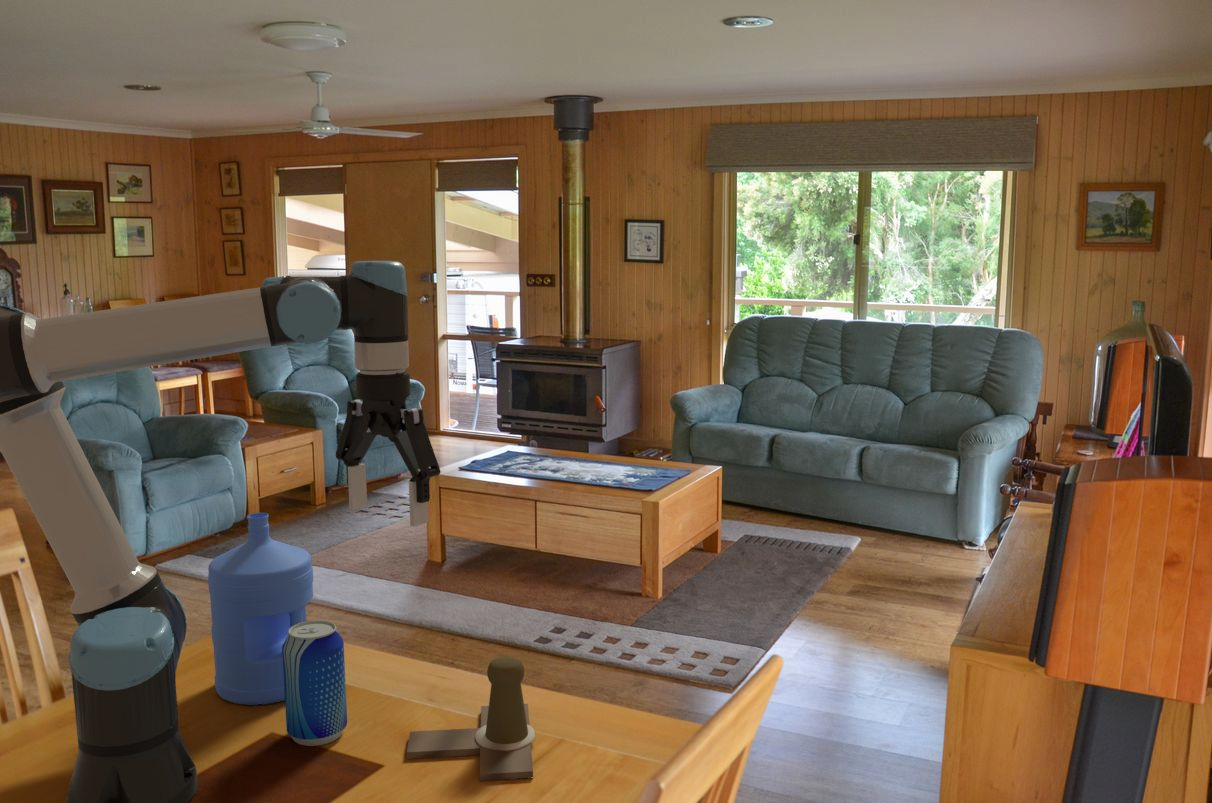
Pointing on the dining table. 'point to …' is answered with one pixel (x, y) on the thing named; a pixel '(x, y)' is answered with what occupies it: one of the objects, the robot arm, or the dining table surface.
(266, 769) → the dining table surface
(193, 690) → the dining table surface
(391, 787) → the dining table surface
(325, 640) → the beer can
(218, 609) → the water jug
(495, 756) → the walnut T board
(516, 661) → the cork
